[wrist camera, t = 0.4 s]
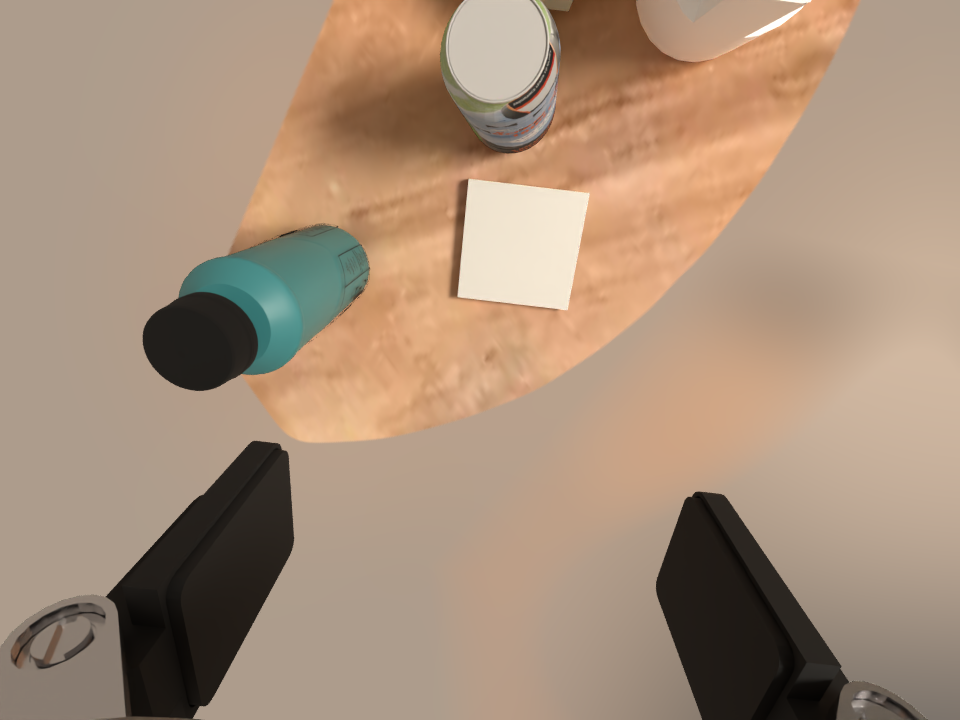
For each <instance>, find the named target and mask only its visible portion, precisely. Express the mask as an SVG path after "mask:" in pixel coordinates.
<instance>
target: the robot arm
mask: <svg viewBox="0 0 960 720" xmlns="http://www.w3.org/2000/svg"><path fill="white" fill-rule="evenodd" d="M292 517H293V516H292V501H291V486H290V471H289V456H288V453H287V451H284V450H282V449H281V446H280V444H278V443H270V442H261V441H252V442H251V443H250V444H249V445H248V446H247V447H246V448H245V449H244V450H243V452H242V453H241V454H240V455H239V456H238V457H237V458H236V459H235V460H234V462H233V463H232V464H231V465H230V466H229V467H228V468H227V469H226V470H225V471H224V473H223V474H222V475H221V476H220V477H219V478H218V479H217V480H216V481H215V483H214V484H213V485H212V486H211V487H210V488H209V489H208V490H207V491H206V493H205V494H204V495H201V496H199V497H198V498H197V499H195V500H194V501H193V502H192V503H191V504H190V505H189V506H188V508H186V510H185V511H184V512H183V513H182V514H181V515H180V516H179V517H178V518H177V519H176V520H175V522H174V523H173V524H172V525H171V526H170V527H169V528H168V529H167V530H166V531H165V533H164V534H163V535H162V536H161V537H160V538H159V539H158V540H157V541H156V542H155V543H154V545H153V546H152V547H151V548H150V549H149V550H148V551H147V552H146V553H145V554H144V555H143V557H142V558H141V559H140V560H139V561H138V562H137V563H136V564H135V565H134V566H133V567H132V569H131V570H130V571H129V572H128V573H127V574H126V575H125V576H124V577H123V578H122V580H121V581H120V582H119V583H118V584H117V585H116V586H115V587H114V588H113V589H112V590H111V591H110V593H109V594H108V595H107V596H106V597H103V596H97V595H85V596H77V597H73V598H69V599H65V600H62V601H59V602H57V603H55V604H53V605H51V606H48V607H46V608H44V609H42V610H41V611H39V612H38V613H36V614H34V615H33V616H31V617H29V618H28V619H26V620H25V621H24V622H23V623H22V624H21V625H20V626H18V627H17V628H16V629H15V630H14V631H12V633H11V634H10V635H9V636H8V638H7V639H6V640H5V641H4V643H3V644H2V645H1V647H0V720H199V719H193V717H194V715H195V713H196V711H197V710H198V708H199V706H206V705H208V704H209V702H210V701H211V700H212V698H213V696H214V695H215V693H216V691H217V689H218V687H219V685H220V684H221V682H222V680H223V678H224V676H225V674H226V672H227V671H228V669H229V667H230V665H231V663H232V661H233V660H234V658H235V656H236V654H237V652H238V650H239V648H240V646H241V645H242V643H243V641H244V639H245V637H246V635H247V634H248V632H249V630H250V628H251V626H252V624H253V623H254V621H255V619H256V617H257V615H258V613H259V611H260V609H261V608H262V606H263V604H264V602H265V600H266V598H267V597H268V595H269V593H270V591H271V589H272V587H273V585H274V584H275V582H276V580H277V578H278V576H279V574H280V573H281V571H282V569H283V567H284V565H285V563H286V561H287V560H288V558H289V556H290V553H291V551H292V548H293V543H294V532H293V518H292ZM656 592H657V596H658V599H659V602H660V605H661V608H662V610H663V613H664V616H665V618H666V621H667V624H668V627H669V630H670V632H671V635H672V638H673V641H674V643H675V646H676V649H677V651H678V654H679V657H680V660H681V662H682V665H683V668H684V670H685V673H686V676H687V679H688V682H689V684H690V687H691V690H692V693H693V695H694V698H695V701H696V703H697V706H698V709H699V712H700V714H701V717H702V720H928V719H927V718H925V717H924V716H923V715H922V714H921V713H920V712H919V711H918V710H917V709H915V707H913V706H912V705H911V704H909V703H908V702H906V701H905V700H903V699H902V698H901V697H899V696H898V695H896V694H895V693H893V692H891V691H889V690H887V689H885V688H883V687H881V686H879V685H875V684H872V683H869V682H865V681H852V682H850V683H849V681H848V680H847V679H846V677H845V675H844V674H843V672H842V671H841V669H840V668H841V665H840V664H839V662H838V661H837V659H836V658H835V656H834V655H833V653H832V652H831V650H830V649H829V647H828V646H827V644H826V643H825V641H824V640H823V639H822V637H821V636H820V634H819V633H818V631H817V630H816V628H815V627H814V625H813V624H812V622H811V621H810V619H809V618H808V617H807V615H806V614H805V612H804V611H803V609H802V608H801V606H800V605H799V603H798V602H797V600H796V599H795V597H794V596H793V595H792V593H791V592H790V590H789V589H788V587H787V586H786V584H785V583H784V581H783V580H782V578H781V577H780V576H779V574H778V573H777V571H776V570H775V568H774V567H773V565H772V564H771V562H770V561H769V559H768V558H767V556H766V555H765V554H764V552H763V551H762V549H761V548H760V546H759V545H758V543H757V542H756V540H755V539H754V537H753V536H752V534H751V533H750V532H749V530H748V529H747V527H746V526H745V525H744V523H743V521H742V520H741V518H740V517H739V515H738V514H737V513H736V511H735V510H734V508H733V507H732V505H731V504H730V502H729V501H728V499H727V498H726V497H725V496H724V495H722V494H716V493H707V492H695V493H694V494H693V496H692V497H687V498H686V500H685V501H684V504H683V507H682V510H681V513H680V515H679V518H678V521H677V524H676V527H675V529H674V532H673V535H672V538H671V541H670V544H669V546H668V549H667V552H666V555H665V558H664V561H663V563H662V566H661V569H660V572H659V575H658V577H657V581H656Z"/></svg>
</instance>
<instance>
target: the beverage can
mask: <svg viewBox="0 0 960 720" xmlns="http://www.w3.org/2000/svg"><path fill="white" fill-rule="evenodd" d="M440 62H441V71H442V76H443V80H444V83H445V85H446V88H447V90H448V92H449V94H450V96H451V97H452V99H453V101H454V102H455V104H456V105H457V107H458V108H459V110H460V111H461V113H462V114H463V116H464V117H465V119H466V120H467V122H468V123H469V125H470V126H471V128H472V129H473V131H474V132H475V134H476V135H477V137H478V138H479V139H480V140H481V142H483V143H484V144H485V145H486V146H487V147H489V148H491V149H493V150H495V151H498V152H501V153H518V152H522V151H524V150H527V149H529V148H531V147H532V146H534V145H535V144H537V143H538V142H539V141H540V140H541V139H542V138H543V136H544V135H545V134H546V132H547V131H548V129H549V127H550V125H551V123H552V120H553V117H554V112H555V105H556V95H557V86H558V76H559V66H560V40H559V33H558V30H557V27H556V24H555V21H554V19H553V17H552V15H551V13H550V11H549V10H548V9H547V7H546V6H545V5H544V4H543V2H542V1H540V0H464V1H463V2H462V3H461V4H460V5H459V7H458V8H457V9H456V10H455V12H454V13H453V15H452V17H451V18H450V20H449V22H448V24H447V27H446V29H445V31H444V35H443V39H442V43H441V52H440Z"/></svg>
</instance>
